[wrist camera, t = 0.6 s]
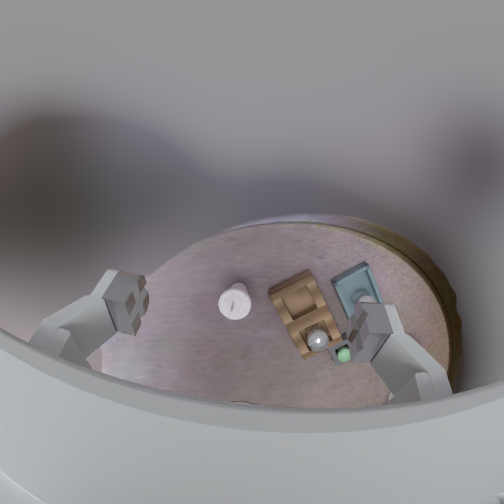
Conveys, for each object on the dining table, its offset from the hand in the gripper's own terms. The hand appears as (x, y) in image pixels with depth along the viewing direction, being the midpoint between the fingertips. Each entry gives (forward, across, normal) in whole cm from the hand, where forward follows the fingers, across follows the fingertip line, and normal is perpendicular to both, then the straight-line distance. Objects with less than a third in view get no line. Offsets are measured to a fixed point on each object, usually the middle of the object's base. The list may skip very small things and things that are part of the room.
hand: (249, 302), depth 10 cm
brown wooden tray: (+37, +14, -39) cm, 55 cm away
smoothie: (+38, -2, -36) cm, 53 cm away
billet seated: (+33, +16, -41) cm, 55 cm away
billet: (+38, +26, -34) cm, 57 cm away
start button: (+32, +24, -45) cm, 60 cm away
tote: (+39, +26, -34) cm, 58 cm away
